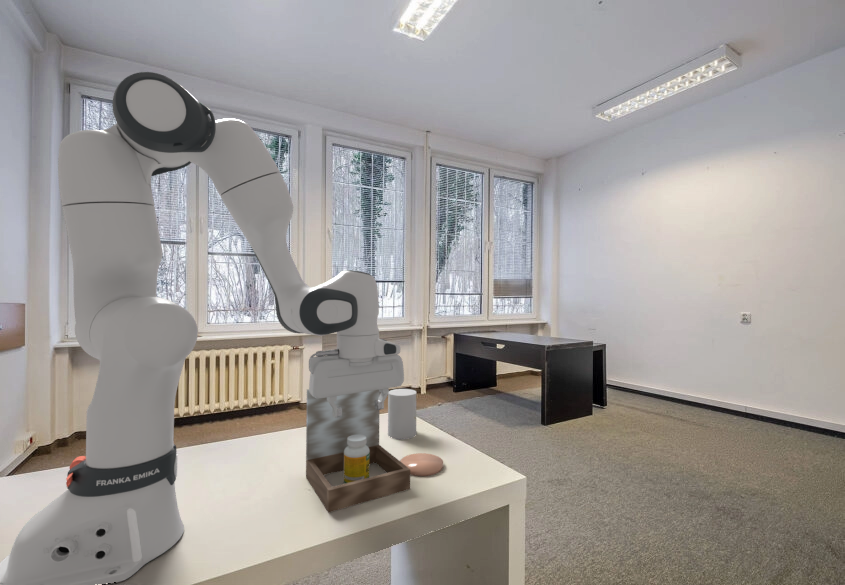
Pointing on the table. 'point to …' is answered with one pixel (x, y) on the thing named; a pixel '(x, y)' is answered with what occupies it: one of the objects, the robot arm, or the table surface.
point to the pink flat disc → (423, 464)
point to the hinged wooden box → (329, 445)
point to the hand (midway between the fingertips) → (358, 412)
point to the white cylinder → (402, 413)
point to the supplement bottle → (356, 459)
